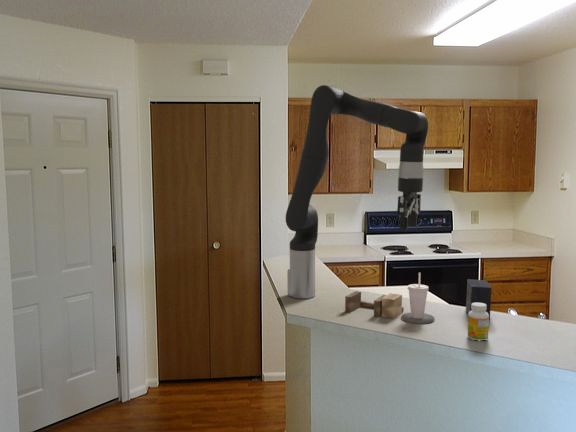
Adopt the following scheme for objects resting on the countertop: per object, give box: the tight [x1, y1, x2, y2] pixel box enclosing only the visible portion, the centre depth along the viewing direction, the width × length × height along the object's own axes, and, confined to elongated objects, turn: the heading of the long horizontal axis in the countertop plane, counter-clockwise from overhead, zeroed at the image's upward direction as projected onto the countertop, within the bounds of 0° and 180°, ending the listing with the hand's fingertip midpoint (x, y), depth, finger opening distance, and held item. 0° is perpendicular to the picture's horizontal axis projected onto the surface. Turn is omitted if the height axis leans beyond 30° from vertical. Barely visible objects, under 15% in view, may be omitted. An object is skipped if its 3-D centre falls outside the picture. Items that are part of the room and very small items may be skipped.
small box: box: [465, 278, 492, 321], centre depth 171 cm, size 11×6×10 cm, turn 168°
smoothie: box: [407, 272, 430, 318], centre depth 167 cm, size 6×6×14 cm
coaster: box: [401, 312, 435, 325], centre depth 168 cm, size 10×10×1 cm
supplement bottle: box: [467, 302, 490, 341], centre depth 149 cm, size 5×5×10 cm
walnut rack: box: [344, 290, 405, 319], centre depth 175 cm, size 16×9×6 cm, turn 58°
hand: (408, 228), depth 170 cm, fingers open, 8 cm apart
